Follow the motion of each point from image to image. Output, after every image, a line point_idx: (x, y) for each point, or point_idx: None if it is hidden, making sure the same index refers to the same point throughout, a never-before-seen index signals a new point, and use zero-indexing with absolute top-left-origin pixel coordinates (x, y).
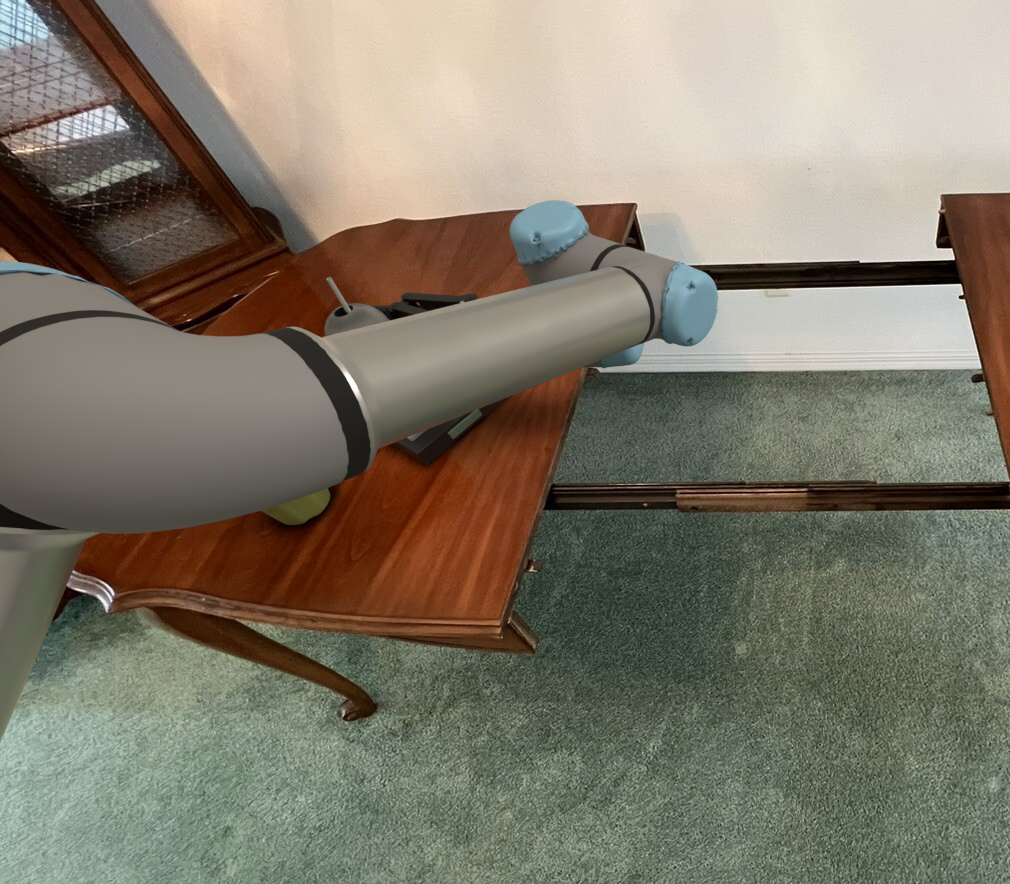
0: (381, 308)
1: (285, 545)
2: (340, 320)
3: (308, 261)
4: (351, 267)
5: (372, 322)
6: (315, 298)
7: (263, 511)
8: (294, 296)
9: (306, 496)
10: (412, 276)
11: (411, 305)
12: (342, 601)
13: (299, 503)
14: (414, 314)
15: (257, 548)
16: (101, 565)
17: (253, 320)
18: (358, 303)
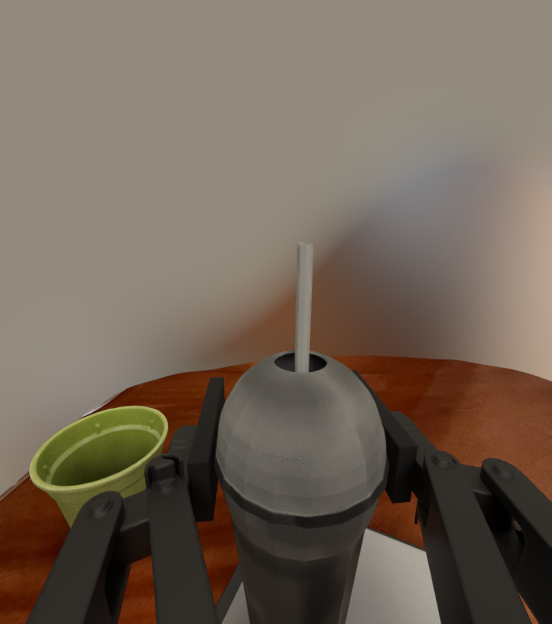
0: (404, 435)
1: (48, 536)
2: (263, 369)
3: (457, 363)
4: (483, 387)
5: (302, 442)
6: (427, 383)
7: (77, 483)
8: (417, 372)
9: None
10: (541, 440)
11: (490, 507)
12: None
13: (69, 524)
14: (458, 567)
15: None
16: (123, 397)
17: (377, 364)
18: (351, 376)
